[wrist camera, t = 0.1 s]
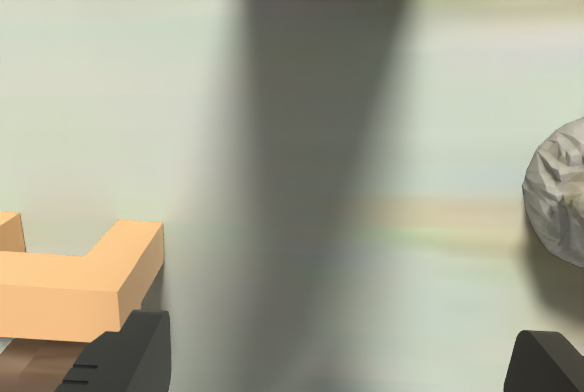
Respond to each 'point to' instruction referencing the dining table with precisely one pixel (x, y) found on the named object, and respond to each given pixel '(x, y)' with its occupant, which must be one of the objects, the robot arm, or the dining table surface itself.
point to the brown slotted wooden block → (37, 364)
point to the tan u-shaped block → (76, 282)
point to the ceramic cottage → (558, 192)
